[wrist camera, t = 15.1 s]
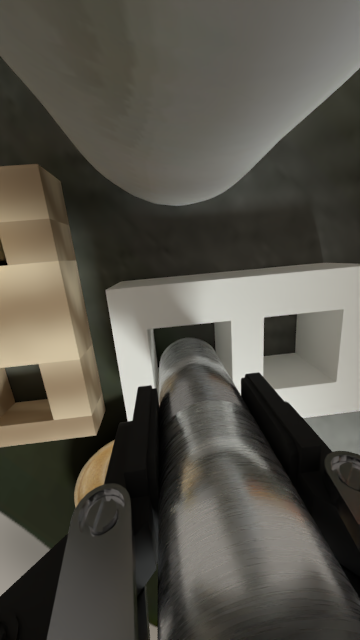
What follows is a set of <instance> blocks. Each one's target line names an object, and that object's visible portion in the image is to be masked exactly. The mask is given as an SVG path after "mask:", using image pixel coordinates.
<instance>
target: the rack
mask: <svg viewBox="0 0 360 640" xmlns="http://www.w3.org/2000/svg"><path fill="white" fill-rule="evenodd" d="M105 291H106V297H107V303H108V309H109V314H110V320H111V326H112V332H113V338H114V344H115V350H116V356H117V361H118V367H119V373H120V379H121V385H122V391H123V397H124V403H125V409H126V414H127V420H128V421H132V420H133V414H134V408H135V402H136V396H137V390H138V387H140V386H149V385H151V386H152V389H153V388H157V392H158V400H159V368H158V363H157V355H156V347H155V339H154V330H153V329H155V328H165V327H175V326H184V325H194V324H204V323H214V328H215V349H216V354H217V355H218V357H219V359H220V360H221V362H222V364H223V366H224V367H225V369H226V371H227V372H228V374H229V376H230V378H231V379H232V381H233V383H234V384H235V386H236V388H237V390H238V391H239V393H240V395H241V378H245V374H249V373H258V372H259V373H260V374H261V375H262V376H263V377H264V378H265V379H266V381H267V382H268V383H269V384H270V385H271V386H272V388H273V389H274V390H275V391H276V392H277V393H278V395H279V396H280V397H281V398H282V399H283V400H284V402H285V401H286V402H288V403H289V404H290V405H291V406H292V407H293V408H294V409H295V410H296V411H297V412H298V414H299V415H300V416H301V417H302V418H307V417H315V416H323V415H331V414H339V413H347V412H355V411H360V264H354V263H315V264H304V265H293V266H282V267H271V268H260V269H249V270H239V271H228V272H217V273H206V274H195V275H184V276H173V277H163V278H152V279H141V280H130V281H121V282H119V283H117V284H115V285H113V286H112V287H110V288H108V289H106V290H105ZM292 314H297V324H296V344H295V353H288V354H279V355H270V356H263V351H264V317H272V316H282V315H292Z"/></svg>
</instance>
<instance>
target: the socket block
mask: <svg viewBox="0 0 360 640" xmlns="http://www.w3.org/2000/svg"><path fill="white" fill-rule="evenodd" d="M0 238H1V242H2V246H3V249H4V253H5V257H6V260H7V264H8V265H6V266H0V447H6V446H14V445H22V444H30V443H38V442H47V441H55V440H63V439H71V438H79V437H87V436H95V435H97V432H98V429H99V427H100V424H101V421H102V419H103V416H104V413H105V411H106V410H105V405H104V400H103V394H102V389H101V384H100V379H99V374H98V369H97V364H96V359H95V354H94V349H93V344H92V339H91V333H90V328H89V323H88V318H87V313H86V308H85V303H84V298H83V293H82V288H81V283H80V277H79V272H78V267H77V262H76V257H75V252H74V247H73V242H72V237H71V232H70V227H69V221H68V216H67V211H66V206H65V201H64V196H63V191H62V186H61V181H60V180H58V179H57V178H56V177H54V176H53V175H52V174H50V173H49V172H48V171H46V170H45V169H44V168H42V167H41V166H40V165H38V164H28V165H13V166H0ZM33 364H39V367H40V371H41V375H42V378H43V382H44V386H45V389H46V393H47V397H48V399H43V400H35V401H26V402H17V403H15V400H14V396H13V393H12V390H11V387H10V384H9V380H8V377H7V374H6V371H5V367H14V366H23V365H33Z"/></svg>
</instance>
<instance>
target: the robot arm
mask: <svg viewBox="0 0 360 640" xmlns="http://www.w3.org/2000/svg"><path fill="white" fill-rule="evenodd" d="M241 396H242V398H243V400H244V402H245V403H246V405H247V407H248V408H249V410H250V412H251V414H252V415H253V417H254V419H255V420H256V422H257V424H258V426H259V427H260V429H261V431H262V432H263V434H264V436H265V438H266V439H267V441H268V443H269V444H270V446H271V448H272V450H273V451H274V453H275V455H276V456H277V458H278V460H279V462H280V463H281V465H282V467H283V468H284V470H285V472H286V474H287V475H288V477H289V479H290V480H291V482H292V484H293V486H294V487H295V489H296V491H297V492H298V494H299V496H300V498H301V499H302V501H303V503H304V504H305V506H306V508H307V510H308V511H309V513H310V515H311V516H312V518H313V520H314V522H315V523H316V525H317V527H318V528H319V530H320V532H321V534H322V535H323V537H324V539H325V540H326V542H327V544H328V546H329V547H330V549H331V551H332V552H333V554H334V556H335V558H336V559H337V561H338V563H339V564H340V566H341V568H342V570H343V571H344V573H345V575H346V576H347V578H348V580H349V582H350V583H351V585H352V587H353V588H354V590H355V592H356V594H357V595H358V597H359V599H360V455H358V454H355V453H351V452H347V451H335V452H332V451H331V450H330V449H329V448H328V446H327V445H326V444H325V443H324V442H323V441H322V440H321V439H320V437H319V436H318V435H317V434H316V433H315V432H314V431H313V429H312V428H311V427H310V426H309V425H308V424H307V423H306V422H305V420H304V419H303V418H302V417H301V416H300V415H299V414H298V412H297V411H296V410H295V409H294V408H293V407H292V406H291V405H290V404H289V403H288V402H286V401H285V402H284V400H283V399H282V398H281V397H280V396H279V395H278V393H277V392H276V391H275V390H274V389H273V388H272V386H271V385H270V384H269V383H268V382H267V381H266V379H265V378H264V377H263V376H262V375H261V374H260V373H259V372H258V373H249V374H245V378H241ZM158 505H159V400H158V392H157V388H153V389H152V386H151V385H149V386H140V387H138V390H137V396H136V402H135V408H134V414H133V420H132V421H127V422H120V423H119V425H118V429H117V433H116V437H115V441H114V445H113V449H112V453H111V457H110V461H109V465H108V469H107V473H106V477H105V481H104V485H101V486H99V487H96V488H94V489H93V490H92V491H90V492H89V493H87V494H86V495H85V496H84V497H83V498H82V499H81V500H80V502H79V504H78V505H77V507H76V508H75V510H74V513H73V516H72V519H71V523H70V528H69V533H68V534H67V535H66V536H65V537H64V538H63V539H62V540H61V541H59V542H58V543H57V544H56V545H55V546H54V547H53V548H52V549H51V550H50V551H49V552H48V553H47V554H45V555H44V556H43V557H42V558H41V559H40V560H39V561H38V562H37V563H36V564H35V565H34V566H33V567H31V568H30V569H29V570H28V571H27V572H26V573H25V574H24V575H23V576H22V577H21V578H20V579H19V580H17V581H16V582H15V583H14V584H13V585H12V586H11V587H10V588H9V589H8V590H7V591H6V592H5V593H3V594H2V595H1V596H0V640H150V633H149V617H148V602H147V588H146V583H147V582H148V580H149V579H150V577H151V576H152V574H153V573H154V572H155V570H156V563H158Z"/></svg>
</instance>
